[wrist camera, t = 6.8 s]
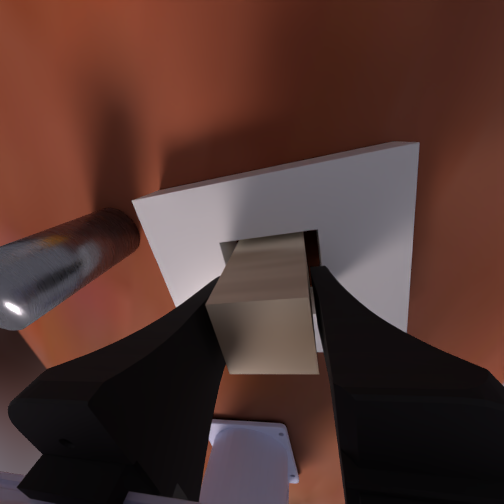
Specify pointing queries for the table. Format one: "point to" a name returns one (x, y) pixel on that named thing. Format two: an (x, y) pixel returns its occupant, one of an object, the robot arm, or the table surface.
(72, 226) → the round peg
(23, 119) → the table surface
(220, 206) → the socket block
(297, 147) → the table surface
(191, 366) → the robot arm
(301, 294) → the square peg
